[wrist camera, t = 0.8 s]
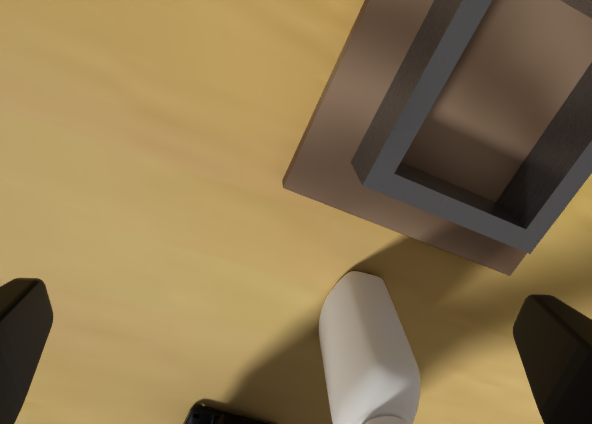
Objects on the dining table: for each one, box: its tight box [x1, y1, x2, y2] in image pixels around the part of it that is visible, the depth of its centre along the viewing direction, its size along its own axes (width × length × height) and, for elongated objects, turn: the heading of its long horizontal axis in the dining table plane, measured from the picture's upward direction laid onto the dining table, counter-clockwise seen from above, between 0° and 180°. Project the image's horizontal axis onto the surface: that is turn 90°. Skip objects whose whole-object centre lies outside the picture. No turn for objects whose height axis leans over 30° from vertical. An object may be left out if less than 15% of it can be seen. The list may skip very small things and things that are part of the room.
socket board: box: [282, 0, 592, 276], centre depth 21 cm, size 16×14×1 cm
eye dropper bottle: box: [319, 271, 420, 424], centre depth 21 cm, size 4×6×12 cm
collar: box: [351, 0, 592, 254], centre depth 19 cm, size 11×9×3 cm
